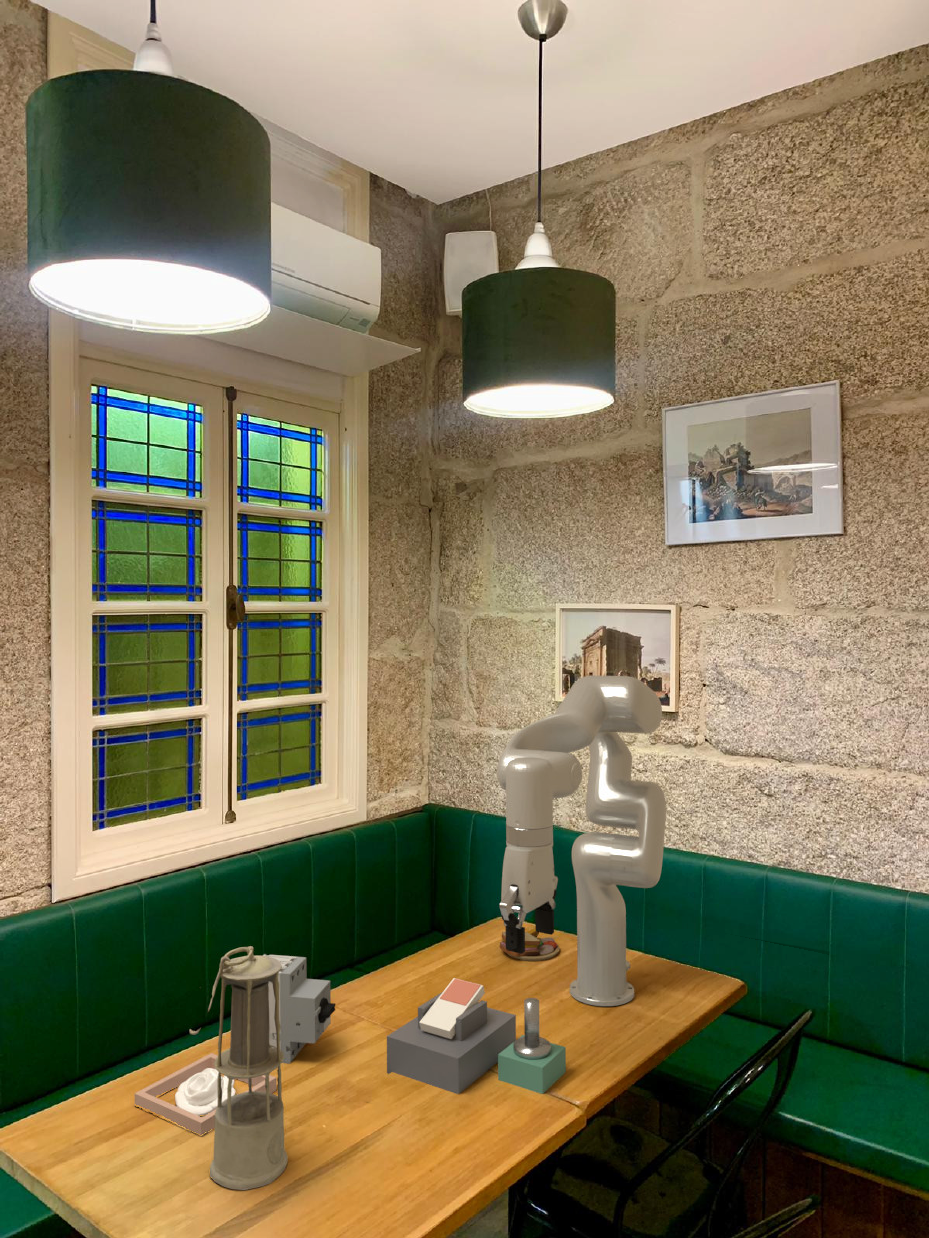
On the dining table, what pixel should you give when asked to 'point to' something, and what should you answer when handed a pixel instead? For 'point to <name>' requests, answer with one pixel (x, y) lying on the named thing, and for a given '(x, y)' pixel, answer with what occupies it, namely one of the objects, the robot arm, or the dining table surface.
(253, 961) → the lamp
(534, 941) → the toy sandwich meal
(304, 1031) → the circuit breaker
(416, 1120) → the dining table surface
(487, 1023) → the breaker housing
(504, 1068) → the stylus holder
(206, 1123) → the pink square frame
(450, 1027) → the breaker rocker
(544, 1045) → the metal knob
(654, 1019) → the dining table surface
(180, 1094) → the rose
